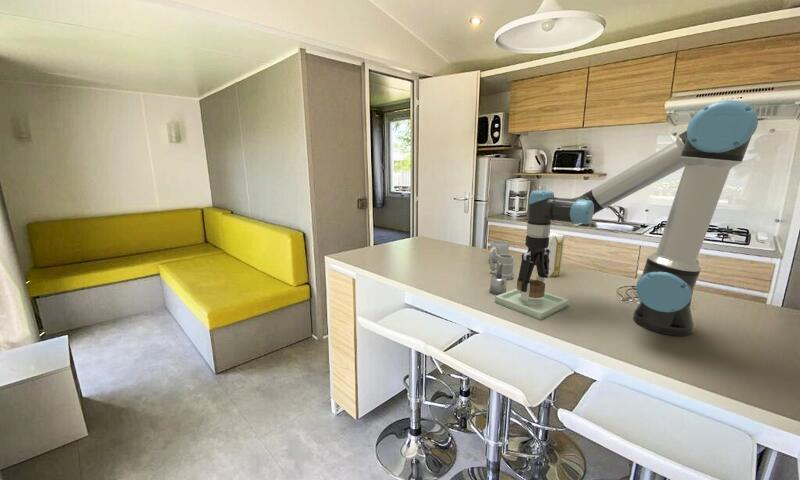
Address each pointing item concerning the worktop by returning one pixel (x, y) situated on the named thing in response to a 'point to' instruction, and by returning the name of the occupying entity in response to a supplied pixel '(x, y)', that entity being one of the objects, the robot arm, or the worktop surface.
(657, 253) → the robot arm
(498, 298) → the tray
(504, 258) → the mug
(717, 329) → the worktop surface
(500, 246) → the mug
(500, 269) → the grey bottle
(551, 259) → the juice carton
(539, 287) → the ring
